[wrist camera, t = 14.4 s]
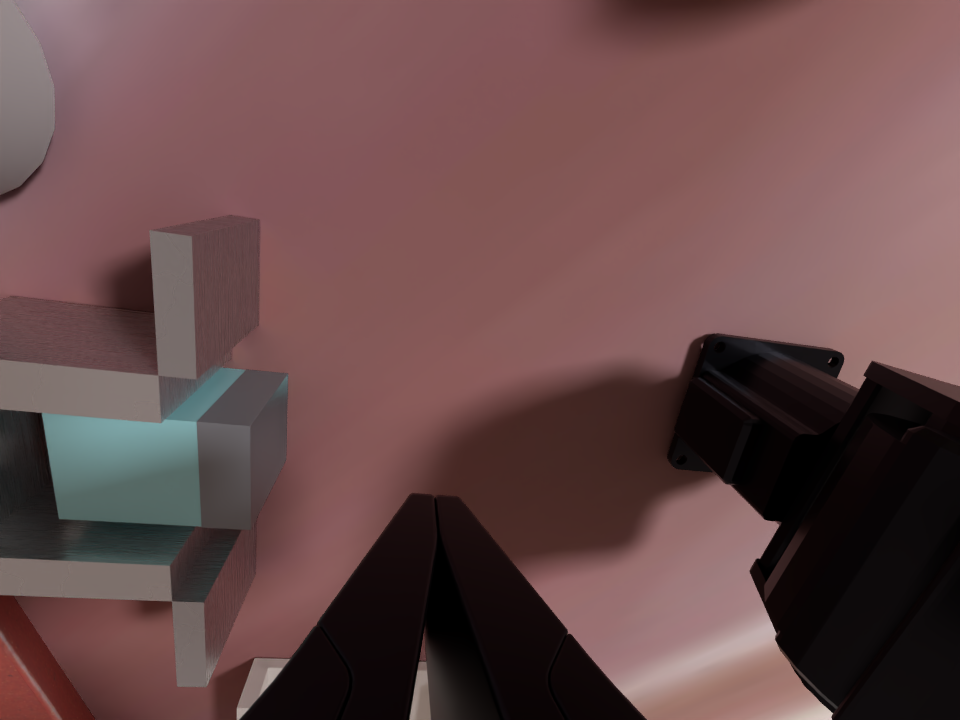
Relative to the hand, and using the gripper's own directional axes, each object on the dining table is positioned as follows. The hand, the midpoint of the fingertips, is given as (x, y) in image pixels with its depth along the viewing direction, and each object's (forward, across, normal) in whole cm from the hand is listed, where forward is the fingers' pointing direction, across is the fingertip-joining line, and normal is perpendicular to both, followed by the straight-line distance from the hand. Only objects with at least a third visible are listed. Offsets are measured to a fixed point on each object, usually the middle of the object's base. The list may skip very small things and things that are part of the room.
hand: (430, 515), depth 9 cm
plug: (+12, +8, +5) cm, 15 cm away
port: (+12, +10, +5) cm, 17 cm away
